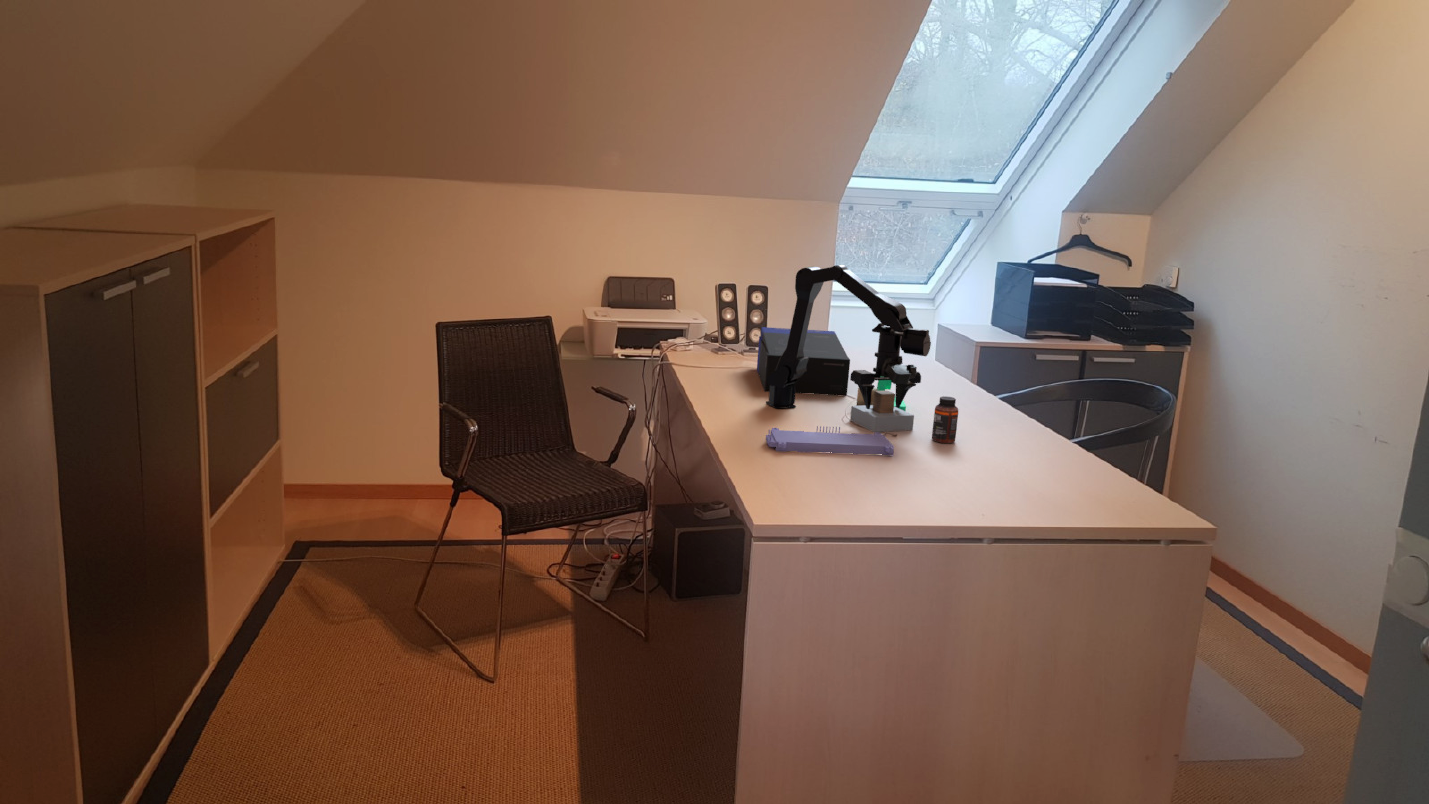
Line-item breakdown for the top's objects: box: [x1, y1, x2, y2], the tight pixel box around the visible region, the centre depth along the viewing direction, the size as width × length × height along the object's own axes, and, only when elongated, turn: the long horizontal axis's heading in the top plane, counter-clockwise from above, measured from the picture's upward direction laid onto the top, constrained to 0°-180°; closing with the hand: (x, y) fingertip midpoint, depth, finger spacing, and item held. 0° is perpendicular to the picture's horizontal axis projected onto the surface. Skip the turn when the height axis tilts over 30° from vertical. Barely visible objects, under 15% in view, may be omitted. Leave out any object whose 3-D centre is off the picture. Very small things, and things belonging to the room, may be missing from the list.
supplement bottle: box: [931, 395, 959, 444], centre depth 268 cm, size 6×6×11 cm
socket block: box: [849, 405, 915, 433], centre depth 280 cm, size 12×12×4 cm
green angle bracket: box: [876, 376, 907, 412], centre depth 299 cm, size 12×8×10 cm, turn 176°
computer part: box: [765, 425, 895, 456], centre depth 256 cm, size 30×4×15 cm
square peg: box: [873, 390, 896, 413], centre depth 280 cm, size 4×4×9 cm
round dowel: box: [855, 387, 878, 406], centre depth 296 cm, size 6×6×6 cm
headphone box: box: [756, 326, 851, 396], centre depth 328 cm, size 25×35×14 cm
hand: (882, 408), depth 280 cm, fingers open, 9 cm apart
